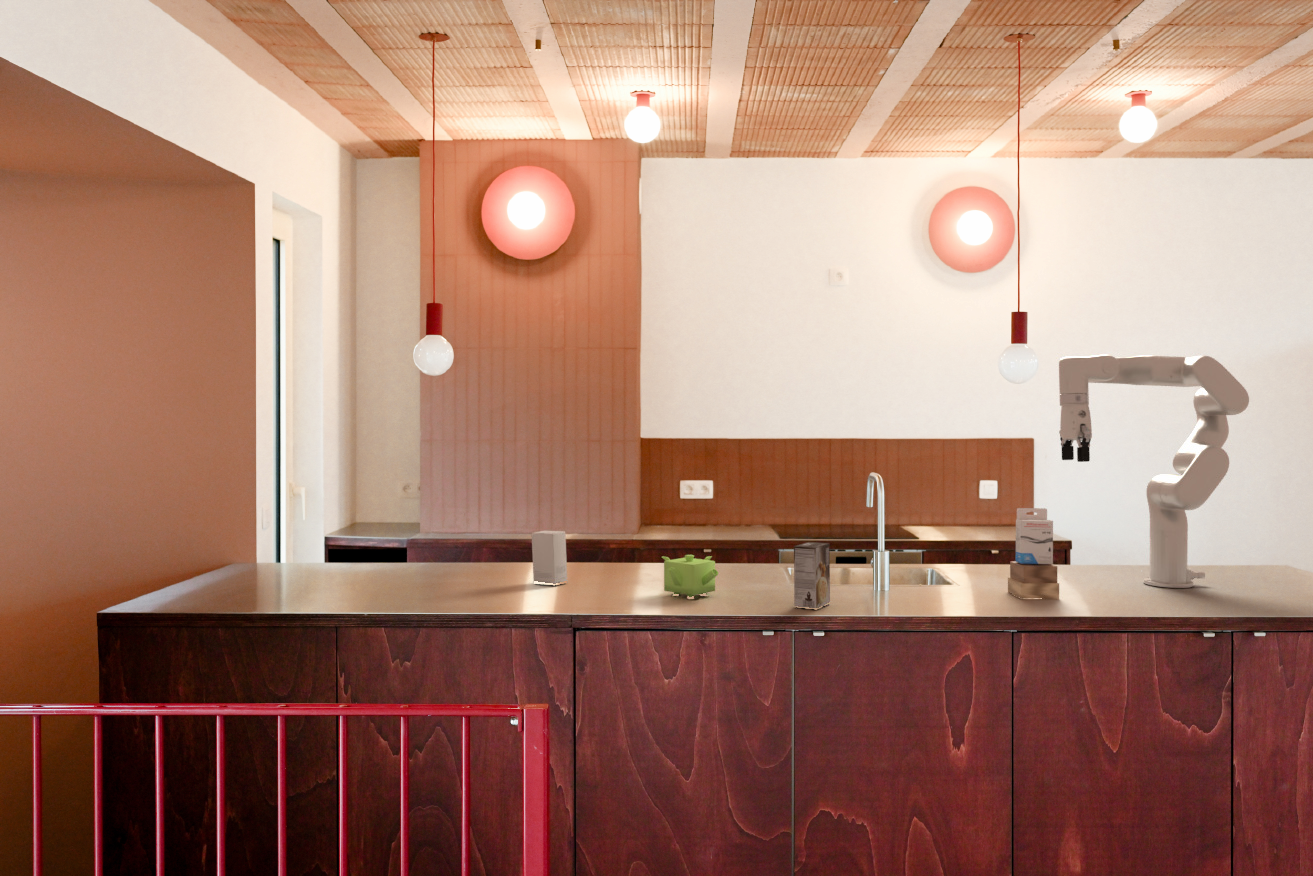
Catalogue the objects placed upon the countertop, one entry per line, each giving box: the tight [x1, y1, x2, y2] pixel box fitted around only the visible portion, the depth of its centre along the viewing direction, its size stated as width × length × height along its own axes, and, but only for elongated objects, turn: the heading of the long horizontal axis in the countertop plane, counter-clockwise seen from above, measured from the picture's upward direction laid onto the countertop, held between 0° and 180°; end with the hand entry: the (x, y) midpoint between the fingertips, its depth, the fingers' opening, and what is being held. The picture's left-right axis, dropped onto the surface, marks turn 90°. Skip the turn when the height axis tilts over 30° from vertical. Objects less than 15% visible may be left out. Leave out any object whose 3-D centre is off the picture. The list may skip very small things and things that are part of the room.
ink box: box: [1015, 507, 1054, 565], centre depth 254 cm, size 9×5×15 cm, turn 85°
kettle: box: [661, 554, 719, 597], centre depth 258 cm, size 15×14×11 cm
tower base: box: [1007, 576, 1060, 600], centre depth 254 cm, size 10×10×4 cm
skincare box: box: [531, 530, 568, 584], centre depth 277 cm, size 8×7×16 cm
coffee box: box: [793, 541, 831, 608], centre depth 242 cm, size 9×6×16 cm
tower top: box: [1009, 560, 1058, 583], centre depth 254 cm, size 9×9×4 cm
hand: (1075, 460), depth 267 cm, fingers open, 9 cm apart
